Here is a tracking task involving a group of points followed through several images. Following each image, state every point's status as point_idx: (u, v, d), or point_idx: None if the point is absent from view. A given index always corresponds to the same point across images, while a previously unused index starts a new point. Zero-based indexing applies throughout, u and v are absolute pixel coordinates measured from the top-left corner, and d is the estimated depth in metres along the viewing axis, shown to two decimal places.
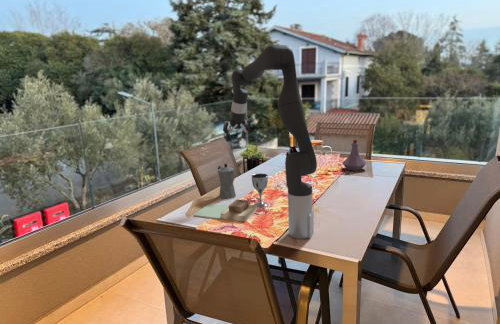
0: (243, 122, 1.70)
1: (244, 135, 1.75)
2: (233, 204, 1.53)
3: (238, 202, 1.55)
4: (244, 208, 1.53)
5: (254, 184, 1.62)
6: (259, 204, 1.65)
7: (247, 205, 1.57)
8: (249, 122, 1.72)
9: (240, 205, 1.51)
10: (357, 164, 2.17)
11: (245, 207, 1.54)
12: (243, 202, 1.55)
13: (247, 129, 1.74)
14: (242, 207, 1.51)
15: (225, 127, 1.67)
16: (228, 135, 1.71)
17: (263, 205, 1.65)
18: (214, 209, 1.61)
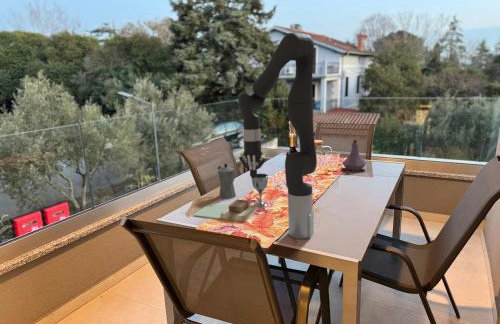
0: (258, 154, 1.44)
1: (253, 174, 1.47)
2: (233, 204, 1.53)
3: (238, 202, 1.55)
4: (244, 208, 1.53)
5: (254, 184, 1.62)
6: (259, 204, 1.65)
7: (247, 205, 1.57)
8: (263, 160, 1.43)
9: (240, 205, 1.51)
10: (357, 164, 2.17)
11: (245, 207, 1.54)
12: (243, 202, 1.55)
13: (257, 166, 1.45)
14: (242, 207, 1.51)
15: (242, 162, 1.47)
16: (251, 171, 1.47)
17: (263, 205, 1.65)
18: (214, 209, 1.61)
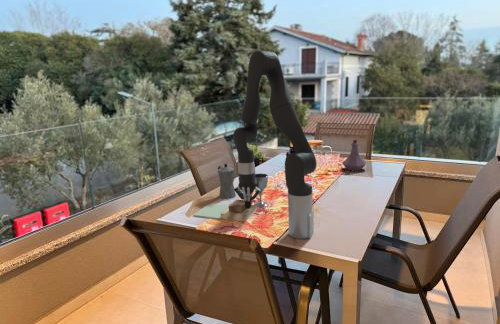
0: (252, 186, 1.48)
1: (248, 205, 1.51)
2: (233, 204, 1.53)
3: (238, 202, 1.55)
4: (244, 208, 1.53)
5: None
6: (259, 204, 1.65)
7: None
8: (257, 192, 1.48)
9: (240, 205, 1.51)
10: (357, 164, 2.17)
11: (245, 207, 1.54)
12: (243, 202, 1.55)
13: (251, 197, 1.50)
14: (242, 207, 1.51)
15: (237, 193, 1.52)
16: (246, 202, 1.52)
17: (263, 205, 1.65)
18: (214, 209, 1.61)
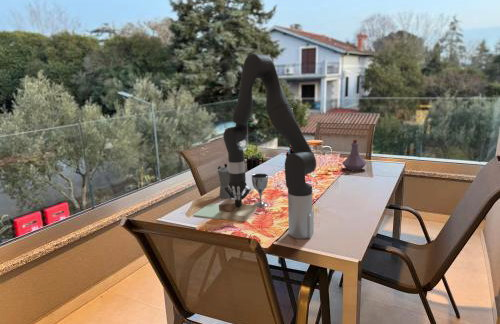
0: (242, 185, 1.50)
1: (238, 203, 1.53)
2: (223, 203, 1.55)
3: (229, 201, 1.57)
4: (234, 207, 1.55)
5: (254, 184, 1.62)
6: (259, 204, 1.65)
7: None
8: (247, 191, 1.50)
9: (230, 204, 1.53)
10: (357, 164, 2.17)
11: (235, 206, 1.56)
12: (233, 201, 1.57)
13: (241, 196, 1.52)
14: (232, 206, 1.53)
15: (227, 192, 1.54)
16: (236, 201, 1.54)
17: (263, 205, 1.65)
18: (214, 209, 1.61)
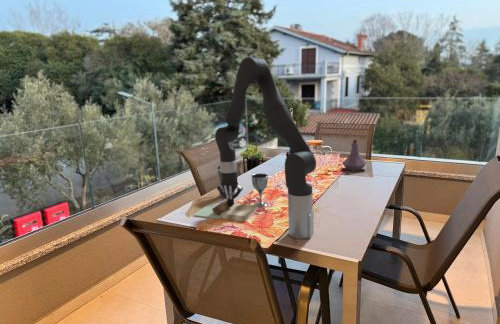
0: (234, 185, 1.52)
1: (230, 203, 1.55)
2: (216, 206, 1.56)
3: (221, 203, 1.58)
4: (228, 206, 1.56)
5: (254, 184, 1.62)
6: (259, 204, 1.65)
7: None
8: (239, 190, 1.51)
9: (222, 204, 1.54)
10: (357, 164, 2.17)
11: None
12: (225, 201, 1.58)
13: (233, 195, 1.54)
14: (224, 205, 1.54)
15: None
16: None
17: (263, 205, 1.65)
18: None
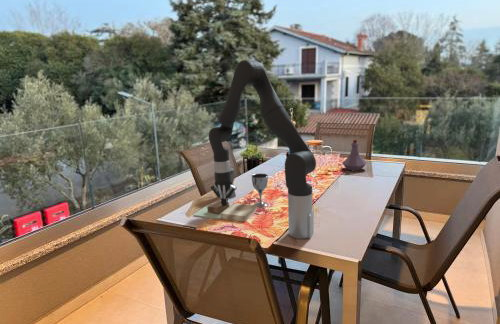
0: (227, 184, 1.53)
1: (224, 202, 1.56)
2: (212, 205, 1.59)
3: (218, 203, 1.60)
4: (222, 209, 1.58)
5: (254, 184, 1.62)
6: (259, 204, 1.65)
7: (227, 207, 1.61)
8: (232, 190, 1.53)
9: (218, 206, 1.56)
10: (357, 164, 2.17)
11: (224, 208, 1.59)
12: None
13: (227, 195, 1.55)
14: (219, 208, 1.56)
15: (213, 191, 1.57)
16: (222, 200, 1.56)
17: (263, 205, 1.65)
18: None
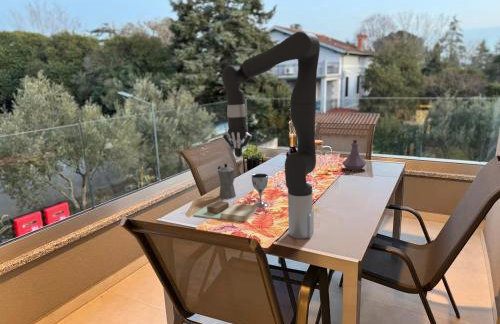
0: (242, 131, 1.37)
1: (238, 152, 1.40)
2: (212, 205, 1.59)
3: (218, 203, 1.60)
4: (222, 209, 1.58)
5: (254, 184, 1.62)
6: (259, 204, 1.65)
7: (227, 207, 1.61)
8: (248, 137, 1.37)
9: (217, 206, 1.56)
10: (357, 164, 2.17)
11: (223, 208, 1.59)
12: (222, 203, 1.60)
13: (242, 144, 1.39)
14: (219, 208, 1.56)
15: (226, 140, 1.41)
16: (236, 150, 1.41)
17: (263, 205, 1.65)
18: None
